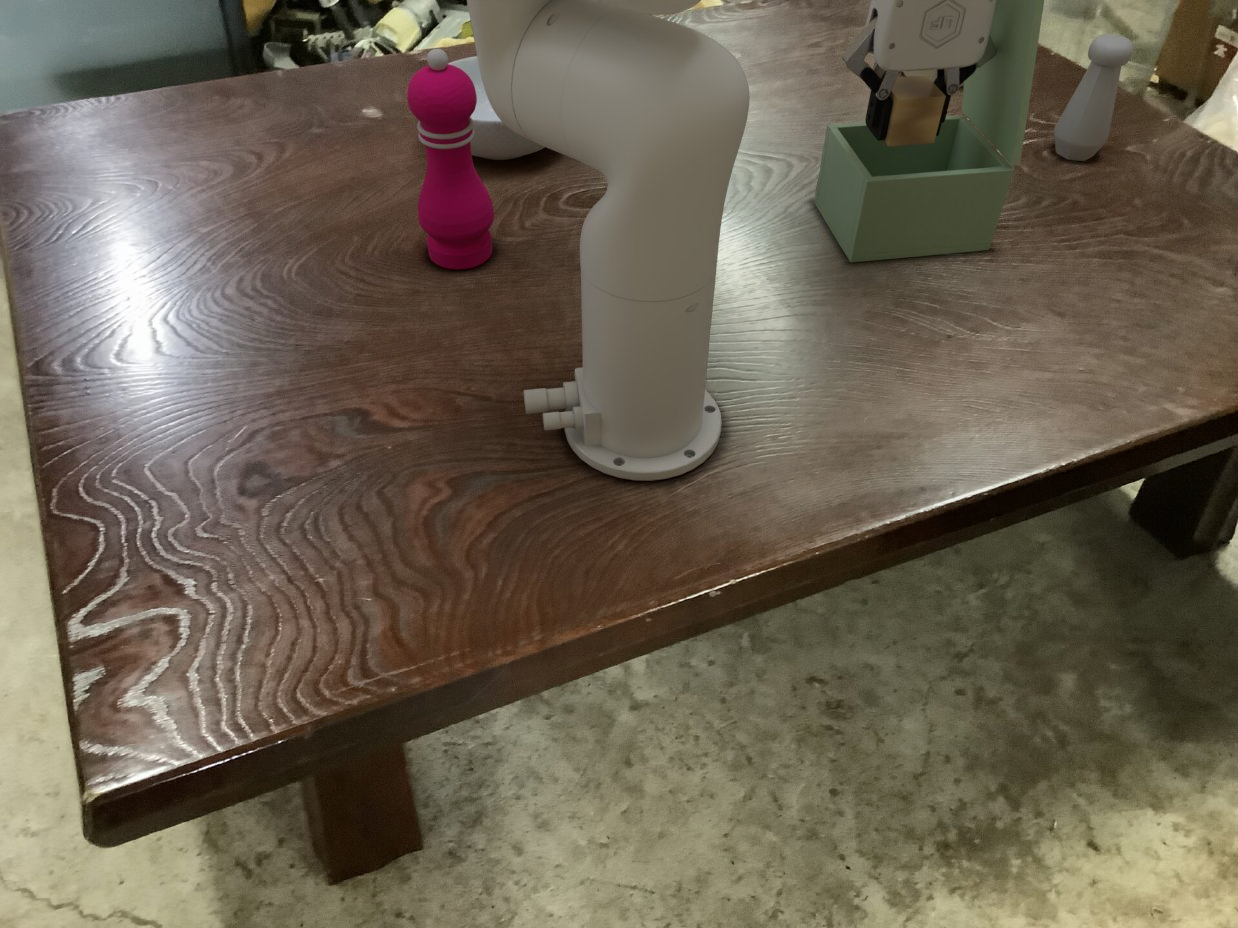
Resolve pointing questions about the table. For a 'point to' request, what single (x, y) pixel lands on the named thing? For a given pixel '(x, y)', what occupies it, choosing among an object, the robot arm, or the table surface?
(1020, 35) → the lid
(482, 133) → the cereal bowl
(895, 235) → the chest
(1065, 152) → the salt shaker
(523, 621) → the table surface
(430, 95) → the pepper mill
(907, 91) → the block
